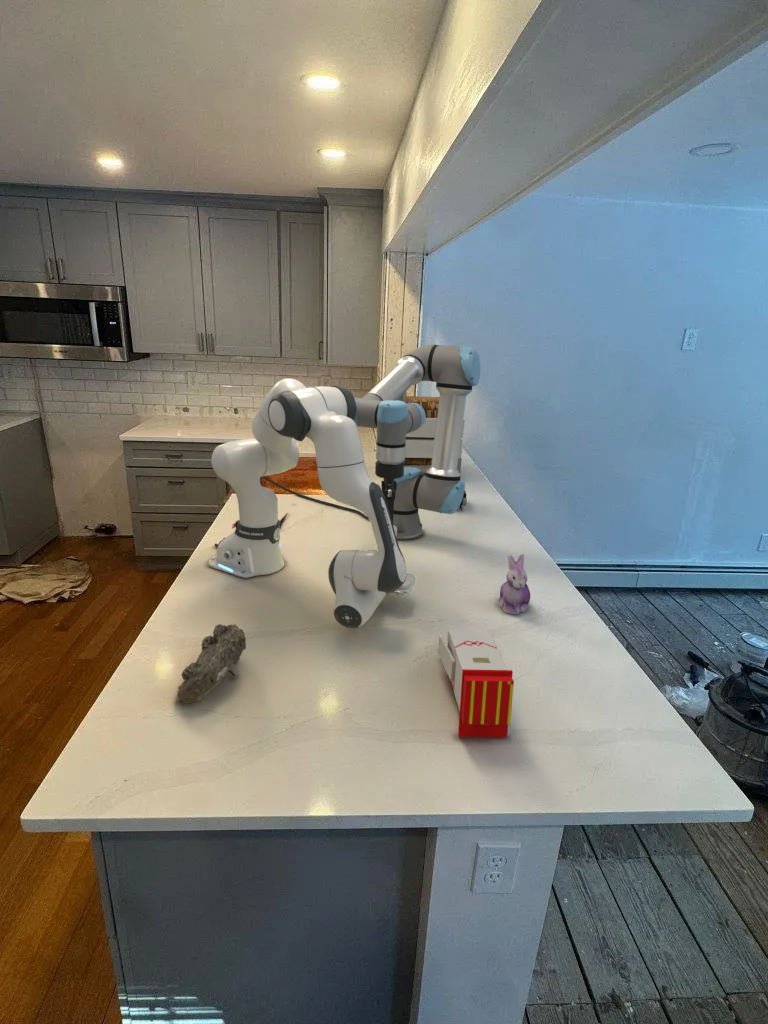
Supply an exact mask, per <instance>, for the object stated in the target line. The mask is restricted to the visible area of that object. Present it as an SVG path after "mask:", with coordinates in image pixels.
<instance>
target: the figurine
mask: <svg viewBox="0 0 768 1024" xmlns="http://www.w3.org/2000/svg"><path fill="white" fill-rule="evenodd" d="M507 561H508V562H507V563H508V571H507V573H506V576H505V578H506V581H505V582H504V583H503V584H501V586H500V588H499V589H500V590H499V598H498V605H499V607H500V608H501V609H502V611H503V612H504V613H507V614H511V615H518V614H519V613H525V612H526V611H527V609H528V607H529V604H530V601H531V591H530V588H529V585H528V584H527V582H528V575H527V571H526V570H525V568H524V567H525V566H524V563H525V554H524V553H521V554H520V555H519V557H518V558H517V560H515V559H514V557H513V556H512V555H511V554H509V555H508V556H507Z"/></svg>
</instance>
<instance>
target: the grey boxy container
mask: <svg viewBox="0 0 768 1024" xmlns="http://www.w3.org/2000/svg"><path fill="white" fill-rule="evenodd" d="M407 394H408V393H407V391H406V392H405V393H404V394H403V395H402V396H401V397H400V398H399V399H398V401H403V402H405V403H417V404H419V405H420V406H422V408H423V409H424V411H425V415H426V418H425V422H424V424H423V425H422V426H421V427H420V428H418V429H417V430H415V431H413V432H410V433H407V434H406V442H405V445H406V447H405V460H404V461H403V463H404V466H406V467H417V466H418V467H431V463H432V455H433V447H434V439H435V430H436V422H437V414H438V405H439V397H440V396H415V395H414V396H413V395H412V396H411V395H407ZM464 429H465V419H464V418H463V425H462V433H461V441H460V448H459V456H458V464H457V470H458V472H459V473H460V474H461V472H462V461H463V460H462V453H463V442H464V441H463V440H462V439H463V438H464V431H465V430H464Z"/></svg>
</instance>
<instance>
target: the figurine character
mask: <svg viewBox="0 0 768 1024" xmlns="http://www.w3.org/2000/svg"><path fill="white" fill-rule="evenodd" d="M467 503H468V498H467V492H466V490H465V491H464V495H463V499H462V501H461V504H460V506H459V509H460V511H463V507H464V508H465V507H467Z"/></svg>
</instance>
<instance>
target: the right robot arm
mask: <svg viewBox="0 0 768 1024" xmlns="http://www.w3.org/2000/svg"><path fill="white" fill-rule="evenodd" d="M480 378H481V359H480V355H479V352H478V351H477V350H476V349H475V348H474V347H470V346H463V345H444V344H443V345H442V344H425V345H421V346H418V347H416V348H414V349H412V350H410V351H409V352H407V353H405V354H404V355H402V356H401V357H400V358H399V359H398V361H397V362H396V365H395V367H394V368H393V369H392V370H391V371H390V372H389V373H388V374H386V376H384V377H383V378H382V379H381V380H380V381H379V382H378V383H377V384H376V385H375V386H373V387H372V388H371V389H370V390H369V391H368V392H367V393H366V394H365V395H364V396H363V397H361V398H359V397H354V399H355V402H356V416H355V419H354V422H355V424H356V426H357V427H363V428H372V429H376V443H375V444H376V447H374V448H373V452H374V453H375V460H376V461H375V466H374V467H375V471H374V474H375V475H376V477H378V478H380V479H383V480H381V482H380V483H381V484H380V488H381V489H382V492H383V494H384V497H385V500H386V503H387V506H388V510H389V513H390V516H391V520H392V524H393V525H395V526H396V527H397V536H396V538H397V541H410V540H415V539H418V538H420V537H421V536H422V535H423V524H422V523H421V518H420V515H419V510H423V511H430V512H435V513H439V514H446V515H452V514H454V513H456V512H457V511H458V509H460V507H459V506H460V504H461V501H462V499H463V495H464V491H465V492H466V487H465V486H466V483H465V482H464V481H463V480H462V479H461V474H460V473H459V472H458V470H457V464H458V456H459V448H460V441H461V440H462V438H461V433H462V425H463V419H464V417H465V410H466V400H467V396H468V395H469V394H471V393H472V392H473V387H476V386H478V385H479V382H480ZM421 382H432V383H435V389H436V390H437V391H438V393H439V396H438V397H439V405H438V414H437V422H436V430H435V439H434V447H433V455H432V463H431V465H430V466H429V468H427V469H426V470H425V474H422V470H421V468H419V467H416V466H406V467H405V465H404V463H403V461H404V460H405V447H406V445H405V442H406V434H407V433H410V432H413V431H415V430H417V429H418V428H420V427H421V426H422V425H423V424H424V422H425V418H426V415H425V411H424V409H423V408H422V406H420V405H419V404H417V403H405V402H403V401H398V399H399V398H400V397H401V396H402V395H403V394H404V393H405V392H406V393H407V391H408V390H409V389H410V388H411V387H412V386H415V385H418V384H419V383H421ZM262 477H263V479H264V480H266V481H268V482H269V483H271V484H273V485H275V486H276V487H278V488H280V489H282V490H284V491H286V492H288V493H291V494H293V495H294V496H295V495H296V496H298V497H301V498H303V499H306V500H310V501H312V502H315V503H320V504H324V505H326V506H330V507H334V508H338V509H341V510H345V511H349V512H353V513H356V514H358V515H360V516H361V517H363V518H364V519H365V520H368V521H370V520H369V518H368V517H367V516H366V515H365V514H364V513H363V512H362V511H360V510H358V509H356V508H355V509H354V508H350V507H346V506H344V505H343V506H342V505H339V504H336V503H332V502H327V501H325V500H320V499H317V498H313V497H311V496H308V495H304V494H301V493H298V492H296V491H293V490H291V489H289V488H286V487H285V486H283V485H281V484H279V483H277V482H276V481H274V480H272V479H270V478H268V477H267V476H262Z"/></svg>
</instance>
